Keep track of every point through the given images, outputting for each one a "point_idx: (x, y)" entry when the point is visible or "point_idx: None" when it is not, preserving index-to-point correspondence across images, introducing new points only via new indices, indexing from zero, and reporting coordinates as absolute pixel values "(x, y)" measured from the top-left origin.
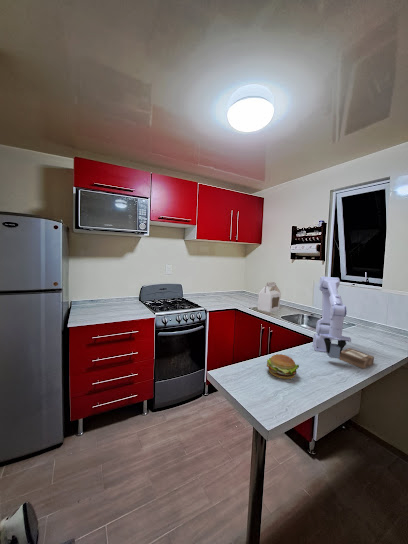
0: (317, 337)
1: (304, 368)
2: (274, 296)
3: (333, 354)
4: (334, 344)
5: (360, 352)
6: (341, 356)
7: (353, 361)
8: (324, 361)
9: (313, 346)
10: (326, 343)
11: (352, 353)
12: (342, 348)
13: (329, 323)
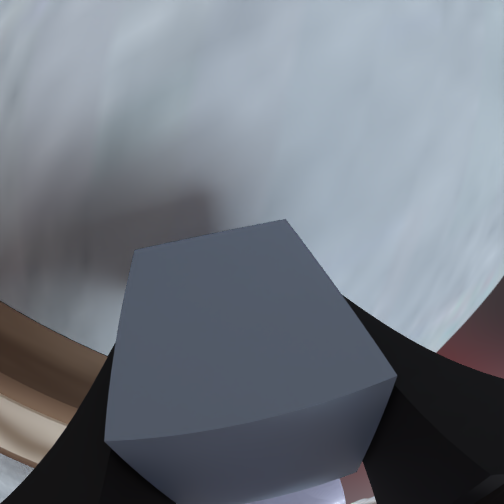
0: (333, 498)
1: (481, 11)
2: None
3: (242, 262)
4: (247, 491)
5: (11, 454)
6: None
7: (11, 338)
8: None
9: None
10: (498, 389)
11: (36, 433)
12: (66, 432)
13: None
